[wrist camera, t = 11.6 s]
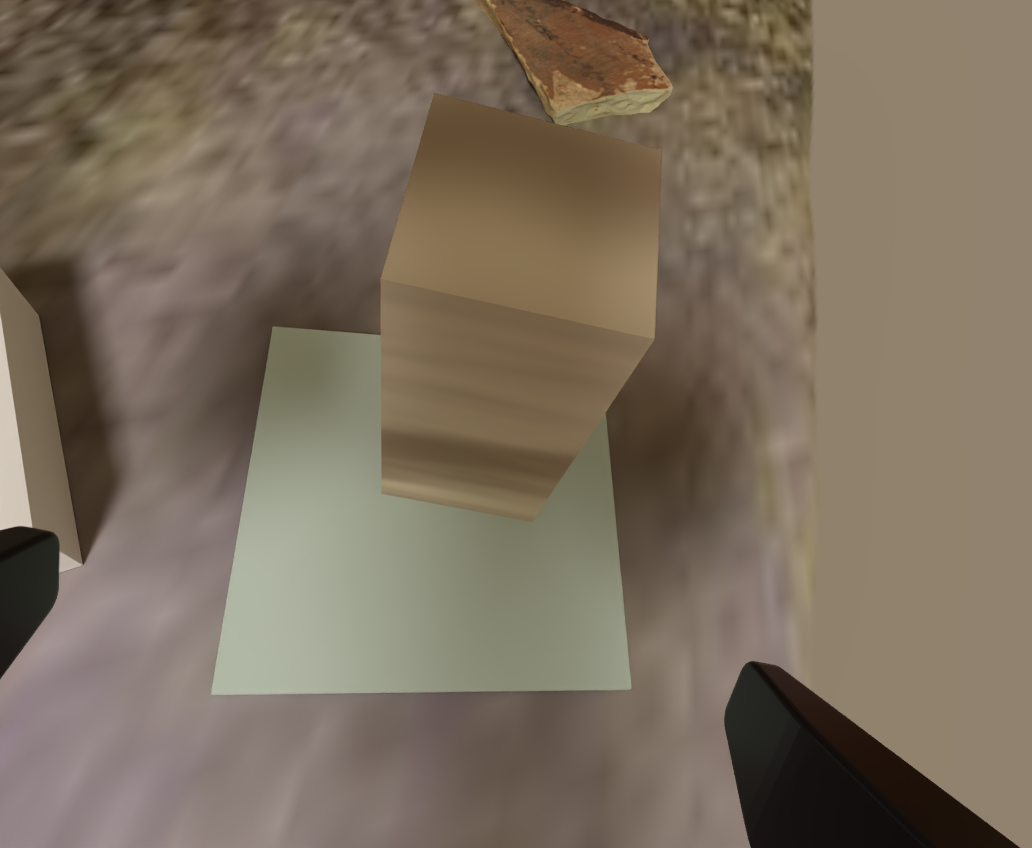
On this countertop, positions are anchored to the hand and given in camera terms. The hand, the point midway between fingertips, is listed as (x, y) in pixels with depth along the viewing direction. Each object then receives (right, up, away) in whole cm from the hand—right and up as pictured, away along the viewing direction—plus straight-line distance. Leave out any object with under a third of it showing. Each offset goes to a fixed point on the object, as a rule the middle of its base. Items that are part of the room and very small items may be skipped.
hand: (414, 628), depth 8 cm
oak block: (0, +2, +14) cm, 14 cm away
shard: (+3, +20, +25) cm, 32 cm away
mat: (-1, 0, +13) cm, 13 cm away
